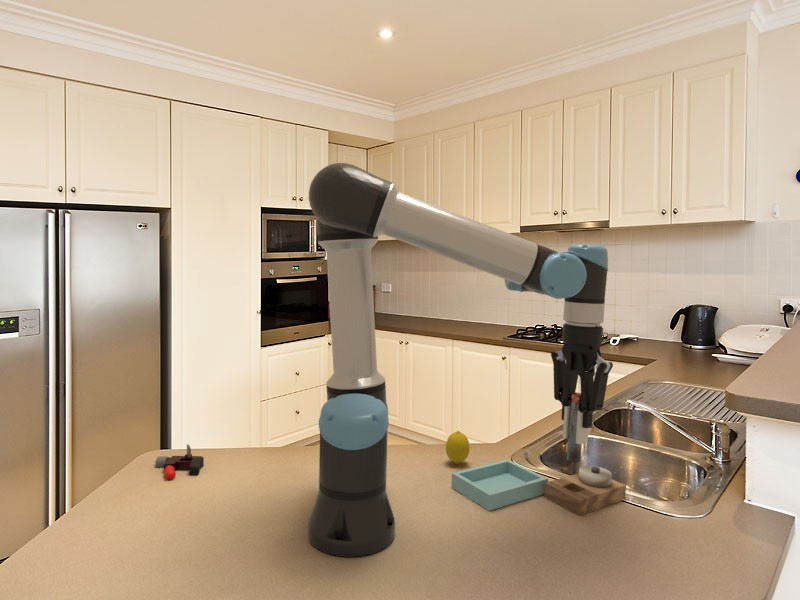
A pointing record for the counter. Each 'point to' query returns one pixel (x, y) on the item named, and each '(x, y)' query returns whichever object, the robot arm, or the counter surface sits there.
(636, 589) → the counter surface
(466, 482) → the tray
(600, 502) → the block
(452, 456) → the lemon
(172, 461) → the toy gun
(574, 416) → the pin
